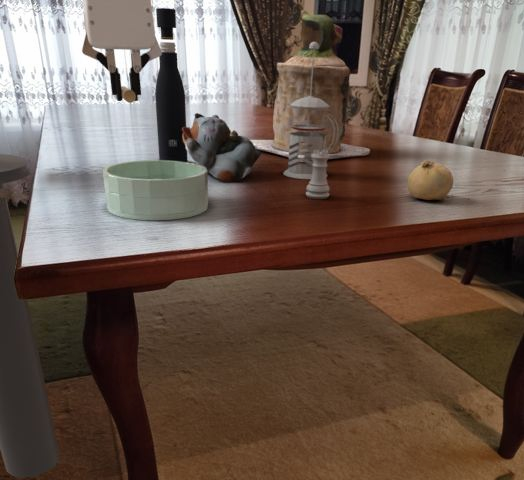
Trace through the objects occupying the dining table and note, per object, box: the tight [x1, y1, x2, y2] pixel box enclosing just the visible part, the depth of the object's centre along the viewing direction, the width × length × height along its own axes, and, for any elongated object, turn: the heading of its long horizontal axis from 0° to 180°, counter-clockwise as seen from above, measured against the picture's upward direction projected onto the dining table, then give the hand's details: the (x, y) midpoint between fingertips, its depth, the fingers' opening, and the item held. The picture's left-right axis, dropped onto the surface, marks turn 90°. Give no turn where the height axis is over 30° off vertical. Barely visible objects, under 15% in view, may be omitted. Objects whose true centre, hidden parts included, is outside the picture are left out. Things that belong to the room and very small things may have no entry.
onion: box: [407, 159, 454, 201], centre depth 96 cm, size 8×8×7 cm
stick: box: [121, 85, 136, 103], centre depth 85 cm, size 10×2×2 cm
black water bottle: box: [154, 7, 189, 162], centre depth 114 cm, size 6×6×30 cm
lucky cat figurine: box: [182, 112, 262, 183], centre depth 108 cm, size 15×12×14 cm
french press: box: [282, 42, 339, 180], centre depth 108 cm, size 10×12×25 cm
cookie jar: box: [249, 10, 371, 161], centre depth 132 cm, size 25×25×32 cm
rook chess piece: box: [305, 150, 330, 200], centre depth 95 cm, size 4×4×8 cm
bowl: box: [102, 159, 209, 221], centre depth 86 cm, size 16×16×6 cm
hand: (127, 99), depth 85 cm, fingers closed on stick, 1 cm apart
